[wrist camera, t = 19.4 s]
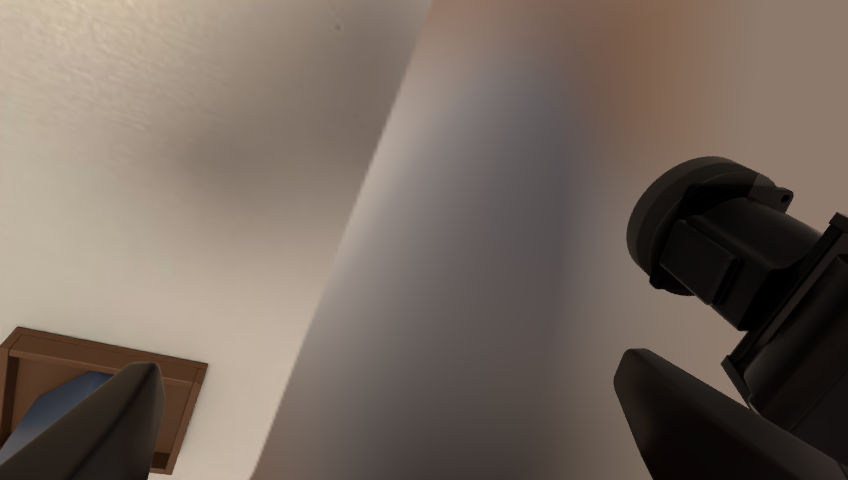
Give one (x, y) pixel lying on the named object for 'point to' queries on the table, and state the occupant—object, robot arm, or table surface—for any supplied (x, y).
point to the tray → (69, 358)
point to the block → (51, 409)
